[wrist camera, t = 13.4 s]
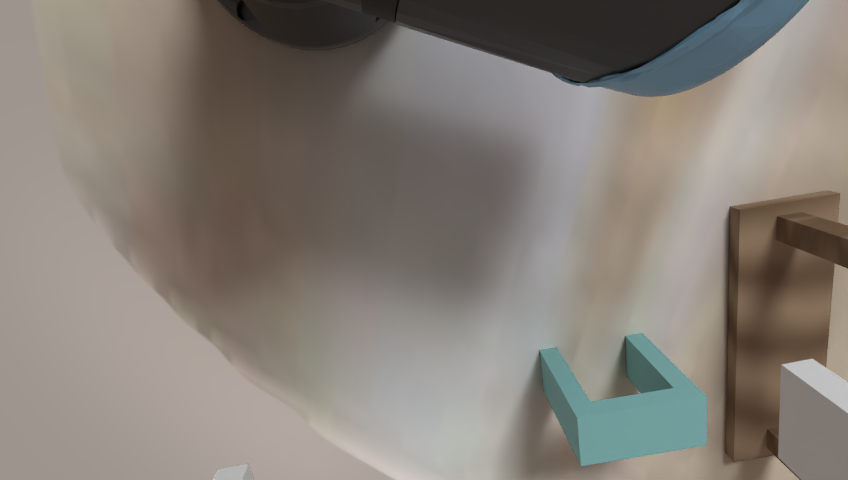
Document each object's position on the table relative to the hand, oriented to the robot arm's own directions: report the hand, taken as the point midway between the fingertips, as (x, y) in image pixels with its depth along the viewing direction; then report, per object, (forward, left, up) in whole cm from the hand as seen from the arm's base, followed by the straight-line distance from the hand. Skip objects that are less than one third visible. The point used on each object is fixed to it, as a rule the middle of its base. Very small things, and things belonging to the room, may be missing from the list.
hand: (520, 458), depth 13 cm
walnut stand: (+16, +28, -29) cm, 43 cm away
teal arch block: (+16, +12, -29) cm, 35 cm away
